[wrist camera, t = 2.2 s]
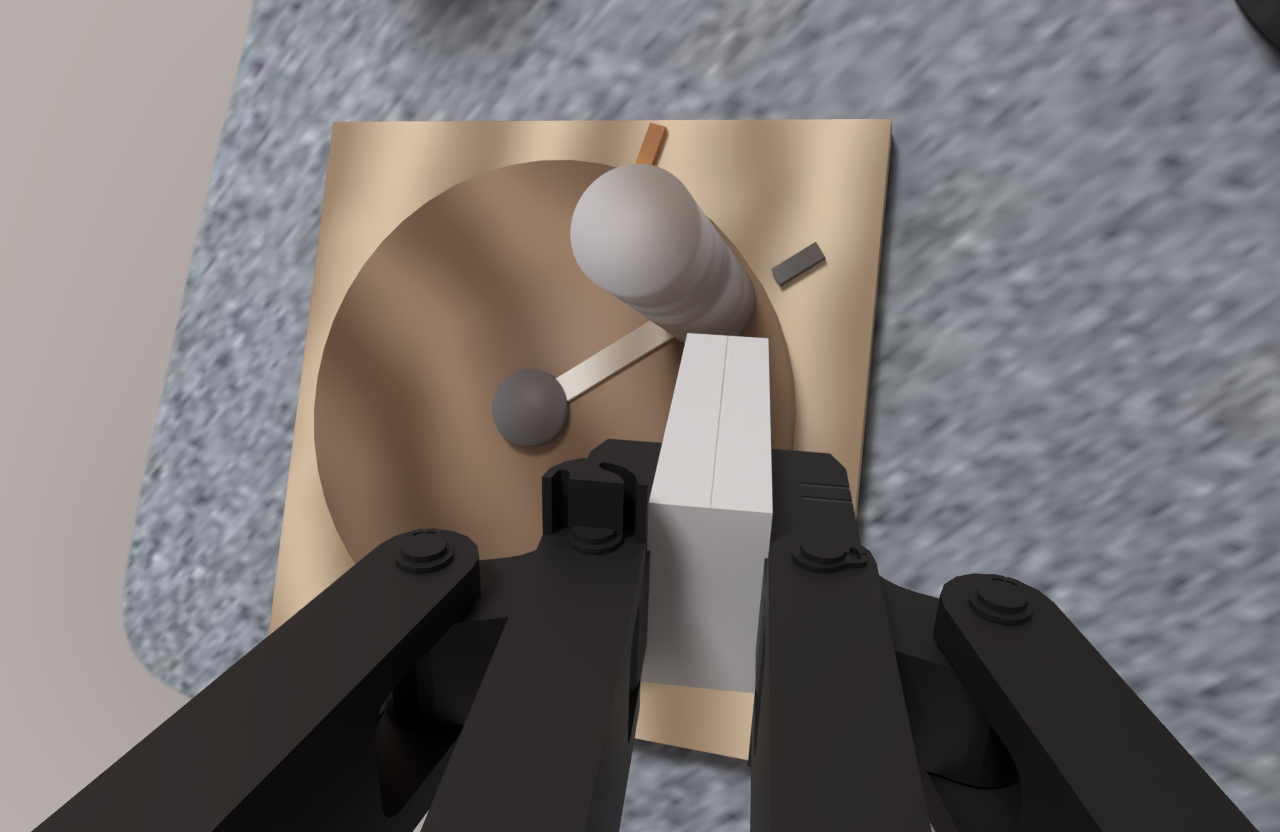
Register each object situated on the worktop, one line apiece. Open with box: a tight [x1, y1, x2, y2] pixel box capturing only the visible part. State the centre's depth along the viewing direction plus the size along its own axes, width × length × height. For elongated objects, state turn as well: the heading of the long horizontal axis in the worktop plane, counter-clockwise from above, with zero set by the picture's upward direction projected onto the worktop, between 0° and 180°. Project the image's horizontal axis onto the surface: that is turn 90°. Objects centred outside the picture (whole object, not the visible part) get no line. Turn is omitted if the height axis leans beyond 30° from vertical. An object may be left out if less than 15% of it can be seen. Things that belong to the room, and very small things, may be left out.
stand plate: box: [269, 119, 892, 760], centre depth 39 cm, size 25×25×2 cm
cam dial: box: [314, 160, 796, 564], centre depth 33 cm, size 20×20×12 cm
